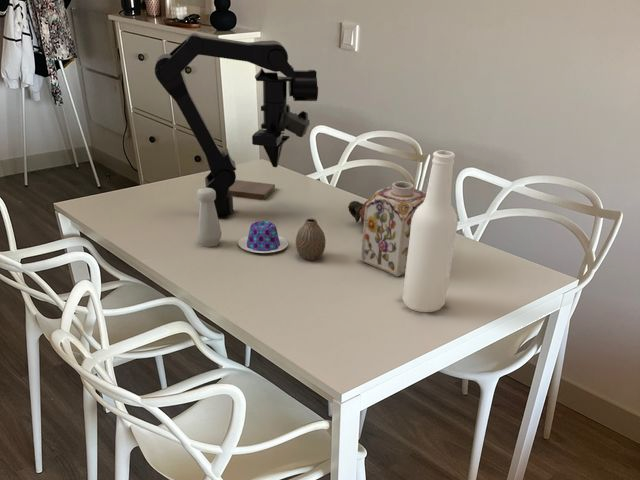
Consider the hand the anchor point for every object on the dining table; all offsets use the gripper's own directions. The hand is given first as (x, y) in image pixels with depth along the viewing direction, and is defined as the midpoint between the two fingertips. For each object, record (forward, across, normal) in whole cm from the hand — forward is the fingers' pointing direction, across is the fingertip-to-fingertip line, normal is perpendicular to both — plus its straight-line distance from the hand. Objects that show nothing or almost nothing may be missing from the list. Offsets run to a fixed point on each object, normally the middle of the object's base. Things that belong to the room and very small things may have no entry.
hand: (275, 166), depth 171 cm
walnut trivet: (+12, +14, +12) cm, 22 cm away
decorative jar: (+12, -23, -36) cm, 44 cm away
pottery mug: (+12, -2, -26) cm, 29 cm away
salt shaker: (+12, -26, +8) cm, 30 cm away
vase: (+12, -26, -16) cm, 33 cm away
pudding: (+12, -23, -4) cm, 26 cm away
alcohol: (+12, -42, -45) cm, 63 cm away
